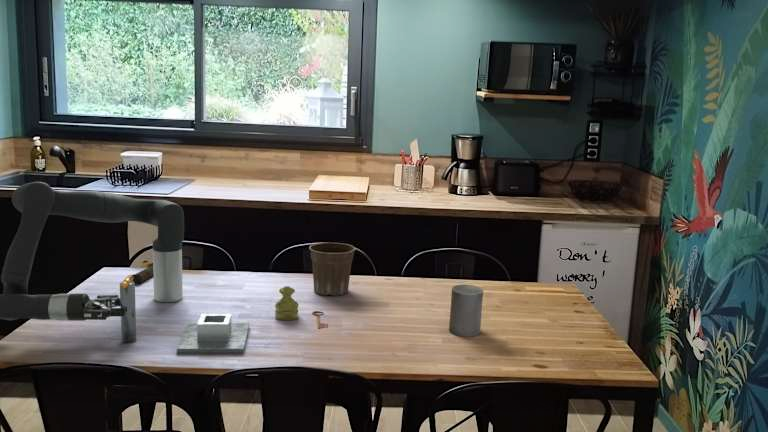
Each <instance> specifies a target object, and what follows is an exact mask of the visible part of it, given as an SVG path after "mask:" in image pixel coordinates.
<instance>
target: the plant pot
mask: <svg viewBox="0 0 768 432" xmlns="http://www.w3.org/2000/svg"><path fill="white" fill-rule="evenodd" d="M308 247H309V251H310V259H311V263H312V277H313V278H312V280H313V292H314V293H316V294H318V295H321V296H329V295H330V296H332V297H336V296H337V297H339V296H343V295H346V294H348V292H349V288H350V287H349V284H350V277H351V270H352V262H353V259H354V253H355V251H356V247H355V246H354V245H351V244H348V243H342V242H319V243H314V244H311V245H309V246H308Z"/></svg>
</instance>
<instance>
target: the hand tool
mask: <svg viewBox="0 0 768 432" xmlns="http://www.w3.org/2000/svg"><path fill="white" fill-rule="evenodd" d="M131 275H132V276H133V280H132V282H134V283H135V285H140V284H143V283H144V281H145V280H147V279H148V278H149V279H150V278H151V277H152V276H154V273H153V262H151V264H150V266H148V267H146V268H145V269H142V270H140V271H139V272H137V273H135V274H131Z"/></svg>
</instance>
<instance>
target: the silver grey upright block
mask: <svg viewBox="0 0 768 432" xmlns="http://www.w3.org/2000/svg"><path fill="white" fill-rule="evenodd" d="M132 275H133V274H129V275H127V276H126V277H125V278H124V280H123V281H122V282H120V283H119V298H120V306H119V308H125V316H120V327H121V329H120V330H121V333H120V334H121V342H122V343H124V344H131V343H135V342H136V341H138V340H137V339H138V337H137V336H138V335H137V312H136V310H137V309H136V308H137V307H136V284H135V283H134V282H132V280H133V276H132Z"/></svg>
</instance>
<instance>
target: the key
mask: <svg viewBox="0 0 768 432" xmlns="http://www.w3.org/2000/svg"><path fill="white" fill-rule="evenodd" d="M311 314H312V315H314V316H317V317H316V319H317V320H316V321H317V329H319V330H320V329H328V328H329V323H325V322H324V323H323V322H321V316H324V315H325V313H324V312H322V311H319V310H316V311H312V312H311Z"/></svg>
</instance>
